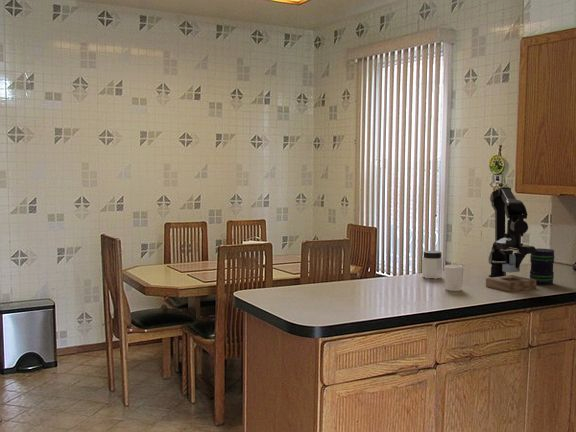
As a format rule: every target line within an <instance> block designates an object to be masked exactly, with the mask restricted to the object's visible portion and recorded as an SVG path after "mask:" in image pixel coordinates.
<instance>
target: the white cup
mask: <svg viewBox="0 0 576 432" xmlns="http://www.w3.org/2000/svg"><path fill="white" fill-rule="evenodd" d="M443 268H444V269H443V270H444V273H443V276H444V289H446V291H448V290H449V291H450V292H461V291H462V287H463V281H464V271H465V270H464V269H465V268H464V266H463V265H460V264H446V265H444V266H443ZM449 291H448V292H449Z"/></svg>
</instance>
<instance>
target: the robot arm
mask: <svg viewBox="0 0 576 432" xmlns="http://www.w3.org/2000/svg"><path fill="white" fill-rule="evenodd" d="M489 197H490V198H489V200H490V202H491V207H492V210H494V222H495V223H494V236H495V237H494V242H493V243H492V247H491V250H490V252H489V256H488V264H489V265H491V266H490V274H489V275H488V277H489V278H492V277H501V276H507V272H504V271H502V266H503V264H509V256H510V254H514V255H515V257H516V261H515V265H516V268H519V266H520V267H521V264H522V262H523V260H524V259H525V258H526V256H527V255H529V254H530V255H531V253H536V249H537V248H536V247H535V246H533V245H524V243H522V237H524V234H526V233H527V232H528V230H529V224H528V222H526V221H525V220H524V219H528V211H527V208H526V205H525V203H524V202H523V201H521V200H519V199H517V198H516V197H515V195H514V194H513V192H512V188H511V187H509V186H500V187H498V189H496V190H494V191H492V192H491V194H490V196H489ZM506 219H507V220H506ZM506 221H507V222H506ZM506 223H507V225H506ZM514 251H516V252H514Z"/></svg>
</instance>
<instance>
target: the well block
mask: <svg viewBox="0 0 576 432" xmlns="http://www.w3.org/2000/svg"><path fill="white" fill-rule="evenodd" d="M485 287H486V288H491V289H494V290H495V289H496V290H500V291H503V292H506V293H507V292H508V293H510V292H511V293H513V292H520V291H528V290H534V289H537V285H536V280H534V279H530V277H529V278H528V277H523V276H518V275H514V274H511V275H506V276H501V277H486V278H485Z"/></svg>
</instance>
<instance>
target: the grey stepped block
mask: <svg viewBox="0 0 576 432" xmlns="http://www.w3.org/2000/svg"><path fill="white" fill-rule="evenodd" d="M515 261H516V257H515V255H514V253H513V254H510V256H509V264H503V266H502V271H504V272H506V273H516V272H517V273H518V272H520V271H521V265H520V266H519V268H516V265H515ZM520 273H521V272H520Z"/></svg>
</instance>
